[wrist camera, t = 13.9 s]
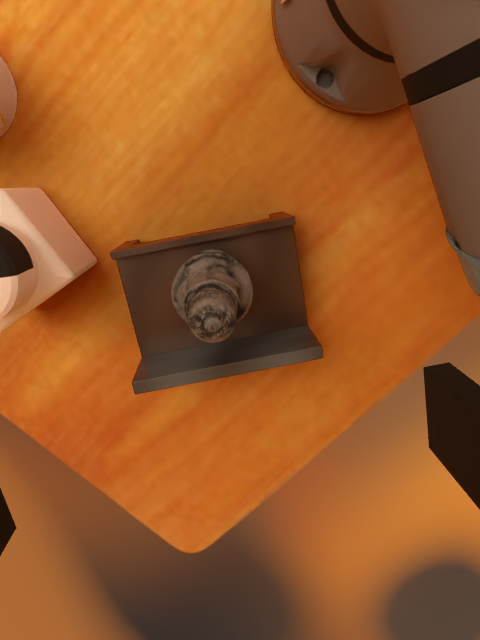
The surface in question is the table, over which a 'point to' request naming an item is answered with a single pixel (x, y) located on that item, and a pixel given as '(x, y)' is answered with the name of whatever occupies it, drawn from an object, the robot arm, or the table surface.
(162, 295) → the spice rack
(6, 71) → the beige cylinder
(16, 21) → the table surface
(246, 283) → the salt shaker
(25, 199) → the container
